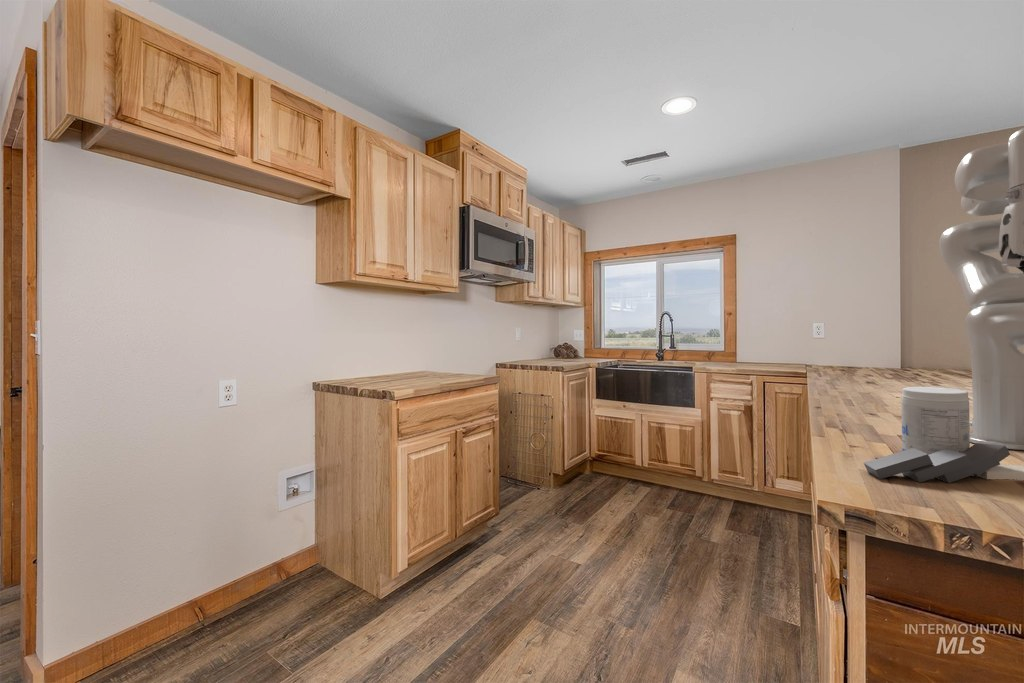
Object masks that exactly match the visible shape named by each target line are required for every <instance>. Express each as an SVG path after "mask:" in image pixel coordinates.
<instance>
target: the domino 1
mask: <svg viewBox="0 0 1024 683" xmlns="http://www.w3.org/2000/svg"><path fill="white" fill-rule="evenodd" d="M931 464H933V463H932V461H931V459H930V457H929V455H928V454H926V453H924V452H922V451H919V450H917V449H915V448H911V449H908V450H904V451H902V450H901V451H899V452H895V453H891V454H887V455H885V456H882V457H881V456H880V457H878V458H875V459H871V460H869V461H865V462H863V465H864V467H865V469H866V471H867V472H868V473H869V474H870V475H872V476H873V477H876V478H877V479H879V480H883V479H885V478H888V477H892V476H896V475H899V474H902V473H903V472H907V471H910V470H914V469H917V468H920V467H924V466H927V465H931Z"/></svg>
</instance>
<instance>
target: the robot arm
mask: <svg viewBox="0 0 1024 683" xmlns="http://www.w3.org/2000/svg"><path fill="white" fill-rule="evenodd" d="M954 186H955V189H956V191H957V193H958V194H959V195H960V196H961V200H960V207H961V209H962V210H963V211H964V212H965V213H967V214H969V215H971V216H976V217H977V216H978V217H986V216H994V215H1002V216H1001V217H996V218H990V219H981V220H976V221H975V220H974V221H973V220H972V221H968V222H963V223H959V224H957V225H954V226H951V227H948V228H947V229H946V230H944V231H943V232H942V233H941V235H940V237H939V242H938V243H939V244H938V246H939V253H940V257H941V260H942V262H943V264H944V265H945V266H946V268H947V269H948V271H950V272H951V273H952V274H953V275H954V277H956V278H957V279H958V281H959V284H960V288H961V290H962V293H963V297H964V299H965V302H966V304H967V306H968V307H969V309H970V311H969V312H968V313H967V314H966V316H965V318H964V326H965V327H964V328H965V330H966V335H967V339H968V344H969V349H970V350H969V351H970V359H971V360H970V361H971V384H972V386H971V389H972V394H971V395H972V420H969V423H970V427H972V432H970V443H973V444H976V443H983V444H995V445H1005V446H1006V448H1007V449H1008V450H1018V451H1019V450H1020V451H1024V353H1023V352H1022V351H1021V350H1019V347H1024V127H1022V128H1020V129H1018V130H1017V131H1015V132H1014V133H1013V134H1012V135H1010V136H1009V138H1008V141H1007V142H1002V143H997V144H992V145H989V146H983V147H980V148H977V149H973V150H971V151H970V152H967V154H965V155H964V157H962V159H961V161H960V163H959V164H958V166H957V168H956V171H955V175H954ZM991 253H999V256H1000V258H1001V260H1000V259H998V258H995V257H993V256H990V255H988V254H991ZM1008 267H1012V268H1013V267H1015V268H1017V269H1018V270H1019V271H1021V272H1019V273H1018V272H1017V273H1016V272H1015V273H1012V272H1010V270H1009V268H1008Z"/></svg>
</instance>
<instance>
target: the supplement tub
mask: <svg viewBox="0 0 1024 683" xmlns="http://www.w3.org/2000/svg"><path fill="white" fill-rule="evenodd" d="M901 391H902V394H901V451H904V450H908V449H911V448H915V449H917V450H919V451H922V452H924V453H926V454H928V455H929V454H932V453H935V452H938V451H941V450H943V449H946V448H948V449H951V450H954V451H957V452H960V453H962V452H964V451H965V450H967V449H968V448H970V447H971V446H970V443H971V442H970V433H971V432H970V431H971V430H970V427H971V426H970V423H969V421H970V398H969V392H968V391H967V390H964V389H959V388H951V387H950V388H949V387H941V386H940V387H938V386H937V387H936V386H907V387H903V388H902V390H901Z"/></svg>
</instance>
